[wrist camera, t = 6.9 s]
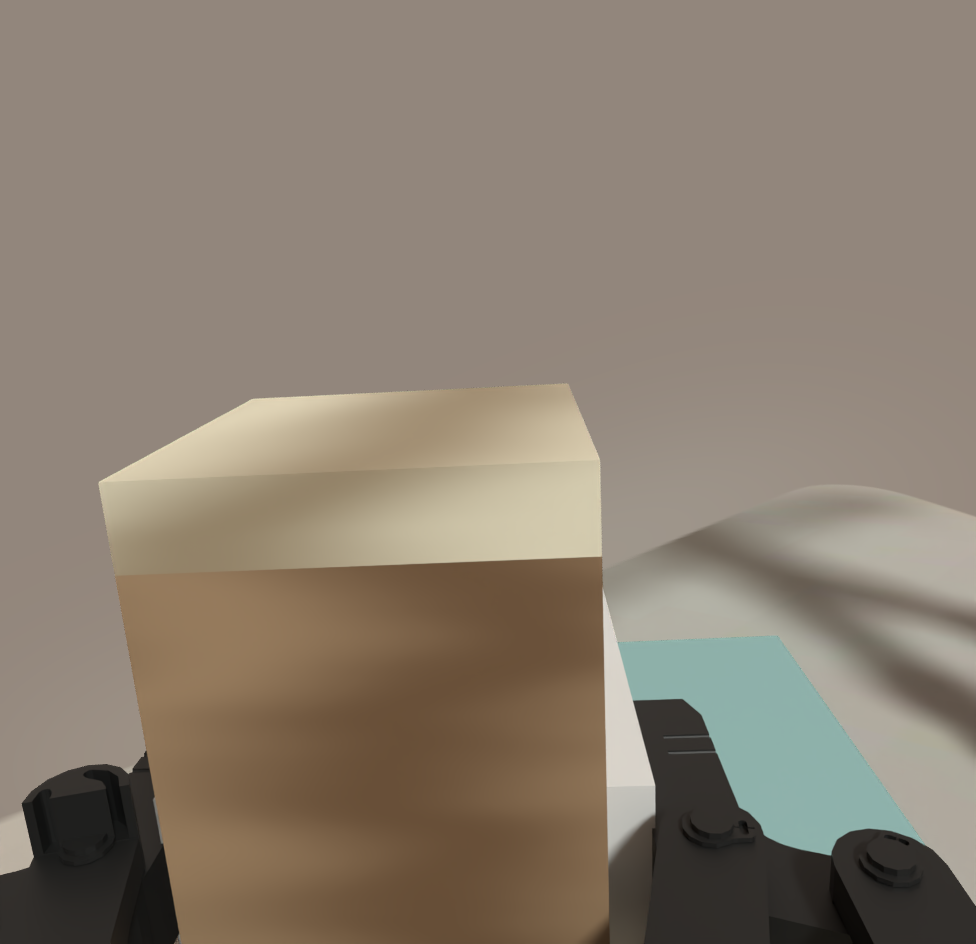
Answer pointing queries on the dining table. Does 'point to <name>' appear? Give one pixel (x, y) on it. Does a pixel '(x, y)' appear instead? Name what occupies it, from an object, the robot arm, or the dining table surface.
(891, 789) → the dining table surface
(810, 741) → the felt mat
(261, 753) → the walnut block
